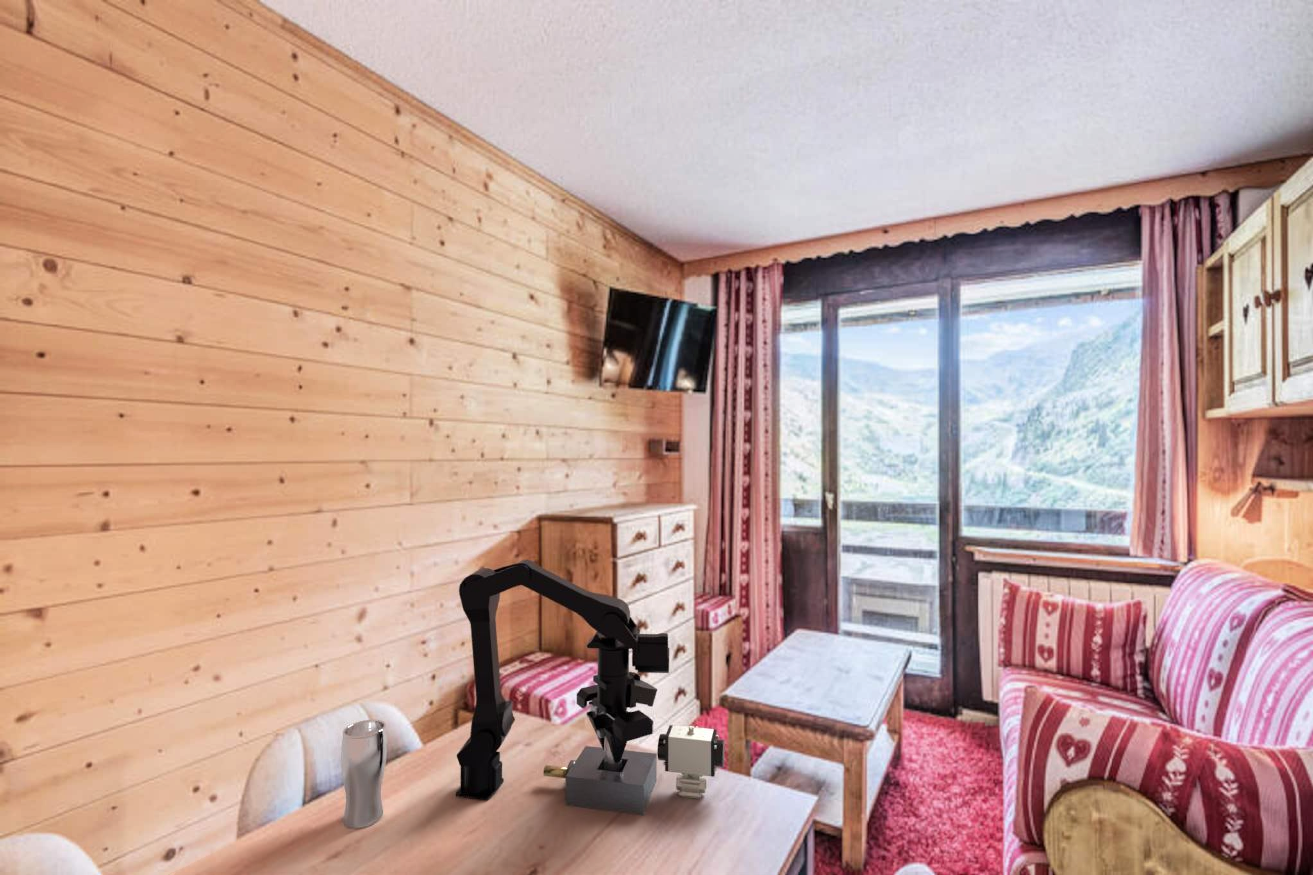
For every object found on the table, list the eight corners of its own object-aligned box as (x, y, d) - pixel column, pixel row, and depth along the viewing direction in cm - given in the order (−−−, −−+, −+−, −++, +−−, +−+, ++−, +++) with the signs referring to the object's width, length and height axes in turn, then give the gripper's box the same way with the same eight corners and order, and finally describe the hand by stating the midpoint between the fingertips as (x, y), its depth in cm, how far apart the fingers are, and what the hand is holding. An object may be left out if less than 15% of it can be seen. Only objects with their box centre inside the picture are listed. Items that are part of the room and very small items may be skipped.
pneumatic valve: (722, 804, 106) (722, 735, 106) (656, 796, 108) (657, 729, 108) (725, 787, 111) (725, 721, 111) (662, 780, 113) (663, 716, 114)
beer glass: (330, 825, 99) (331, 733, 100) (363, 802, 106) (365, 716, 106) (362, 834, 97) (364, 740, 97) (395, 810, 103) (396, 722, 104)
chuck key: (602, 786, 106) (602, 734, 107) (594, 778, 109) (594, 727, 109) (631, 776, 110) (631, 726, 110) (622, 768, 112) (623, 719, 113)
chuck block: (533, 800, 106) (533, 772, 107) (555, 768, 117) (556, 742, 117) (643, 815, 102) (643, 785, 103) (656, 780, 113) (656, 753, 113)
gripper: (679, 678, 106) (678, 768, 106) (625, 649, 122) (625, 727, 122) (624, 692, 100) (623, 787, 100) (575, 659, 116) (574, 741, 116)
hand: (612, 757), depth 109 cm, fingers closed on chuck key, 3 cm apart
